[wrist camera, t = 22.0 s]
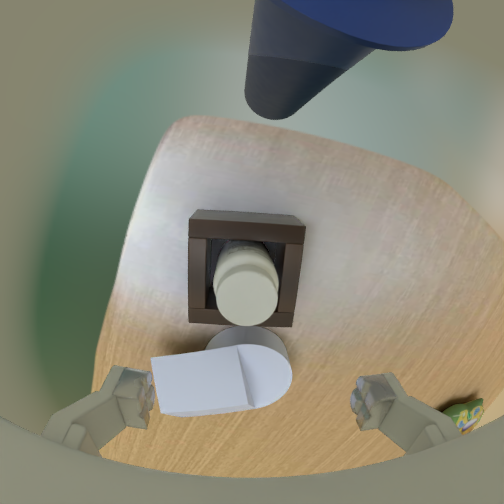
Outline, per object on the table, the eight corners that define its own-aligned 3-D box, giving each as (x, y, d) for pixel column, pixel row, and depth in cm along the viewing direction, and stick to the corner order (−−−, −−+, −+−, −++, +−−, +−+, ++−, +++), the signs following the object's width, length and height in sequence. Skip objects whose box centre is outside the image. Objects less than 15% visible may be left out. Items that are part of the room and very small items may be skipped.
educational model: (458, 429, 40) (469, 445, 35) (403, 446, 39) (414, 466, 34) (487, 385, 37) (501, 401, 32) (435, 401, 35) (450, 421, 30)
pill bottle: (249, 292, 27) (253, 343, 19) (208, 264, 26) (195, 307, 18) (281, 253, 26) (298, 292, 18) (238, 223, 26) (238, 250, 17)
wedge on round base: (185, 397, 31) (292, 380, 31) (177, 439, 25) (302, 422, 25) (158, 338, 29) (280, 317, 28) (142, 379, 22) (291, 357, 22)
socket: (196, 209, 25) (188, 218, 21) (294, 215, 26) (306, 226, 21) (195, 298, 27) (188, 322, 23) (283, 303, 28) (291, 327, 24)
